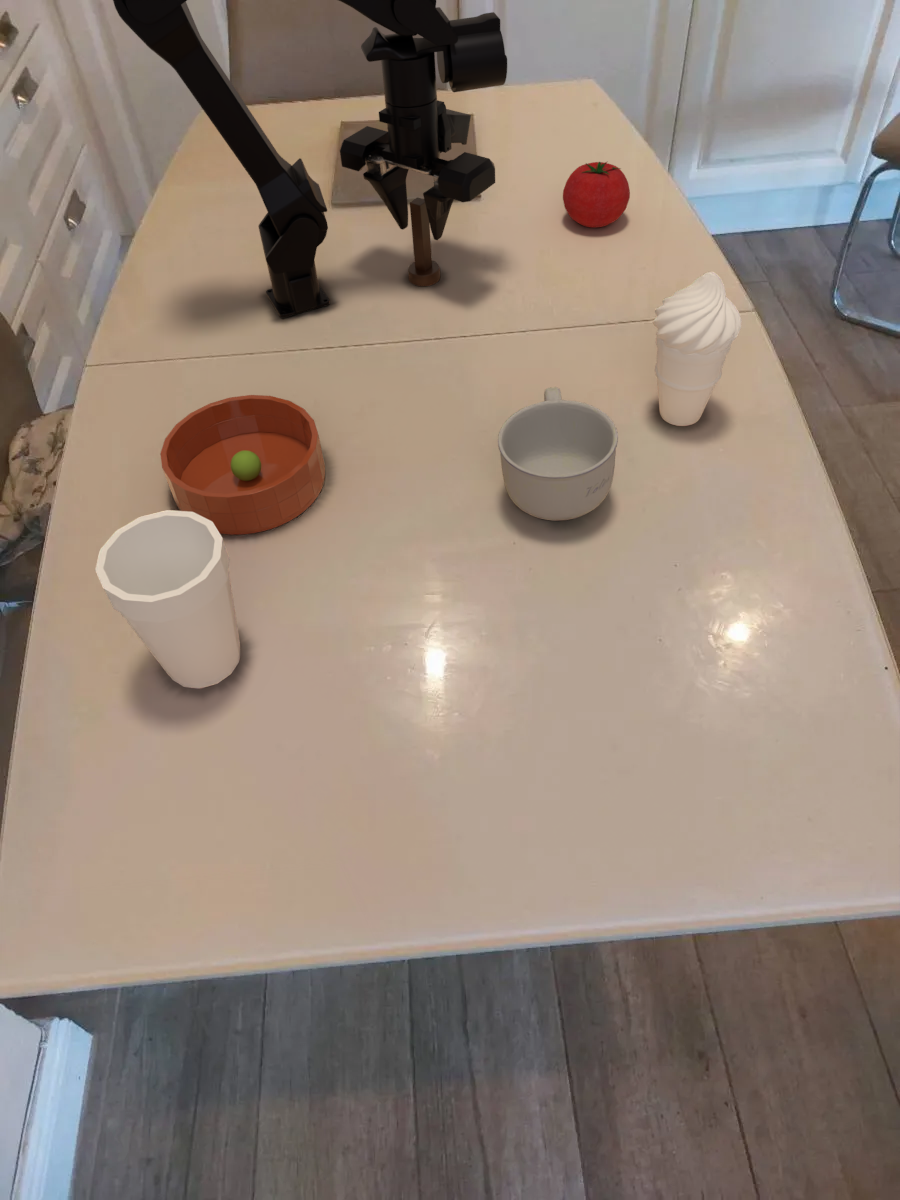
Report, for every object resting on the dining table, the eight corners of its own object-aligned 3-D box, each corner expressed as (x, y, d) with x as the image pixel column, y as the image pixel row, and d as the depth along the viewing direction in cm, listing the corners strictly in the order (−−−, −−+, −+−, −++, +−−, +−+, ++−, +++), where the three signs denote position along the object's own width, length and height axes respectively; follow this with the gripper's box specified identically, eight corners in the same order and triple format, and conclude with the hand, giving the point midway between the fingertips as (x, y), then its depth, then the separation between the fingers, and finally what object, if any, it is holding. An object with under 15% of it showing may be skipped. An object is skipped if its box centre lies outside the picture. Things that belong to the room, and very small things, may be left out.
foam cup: (156, 620, 81) (107, 515, 71) (260, 610, 81) (226, 504, 71) (142, 709, 75) (86, 608, 65) (254, 698, 75) (216, 595, 65)
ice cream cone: (671, 449, 92) (696, 308, 80) (624, 405, 97) (640, 266, 85) (737, 422, 95) (771, 281, 82) (687, 380, 100) (713, 242, 87)
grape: (230, 472, 92) (223, 449, 90) (259, 463, 93) (253, 440, 91) (238, 490, 91) (232, 467, 88) (267, 481, 91) (261, 458, 89)
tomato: (637, 214, 124) (644, 154, 118) (609, 243, 119) (614, 183, 113) (580, 200, 127) (583, 141, 121) (549, 228, 123) (552, 168, 116)
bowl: (159, 460, 95) (145, 422, 91) (298, 417, 99) (290, 378, 95) (195, 555, 86) (180, 517, 82) (346, 503, 89) (339, 464, 86)
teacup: (605, 543, 84) (612, 479, 78) (489, 530, 86) (488, 466, 80) (617, 446, 93) (625, 381, 87) (513, 437, 95) (513, 372, 89)
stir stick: (402, 281, 116) (395, 204, 108) (421, 266, 118) (415, 190, 110) (427, 289, 114) (422, 212, 106) (446, 275, 116) (442, 198, 109)
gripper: (522, 87, 100) (520, 224, 112) (389, 57, 107) (400, 188, 119) (464, 125, 94) (469, 265, 106) (328, 91, 102) (346, 225, 114)
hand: (421, 233), depth 111 cm, fingers open, 5 cm apart
